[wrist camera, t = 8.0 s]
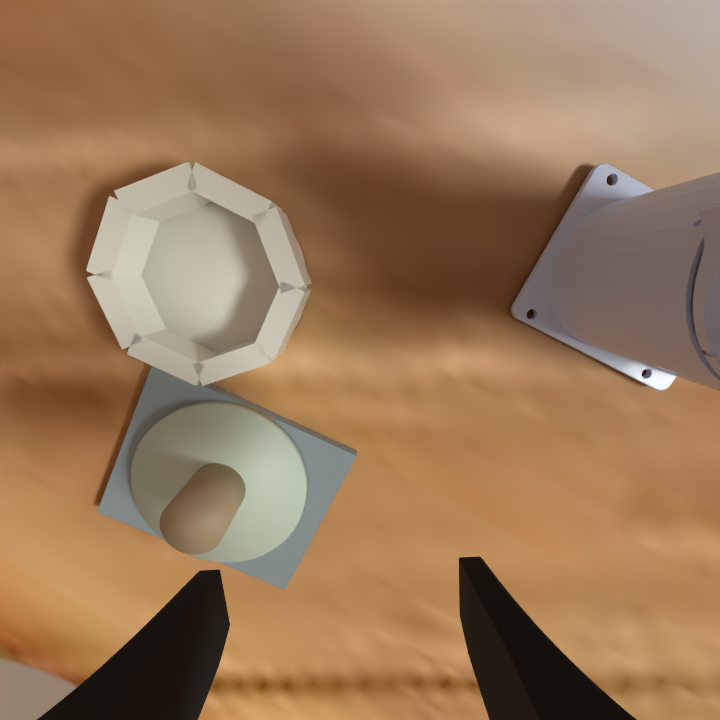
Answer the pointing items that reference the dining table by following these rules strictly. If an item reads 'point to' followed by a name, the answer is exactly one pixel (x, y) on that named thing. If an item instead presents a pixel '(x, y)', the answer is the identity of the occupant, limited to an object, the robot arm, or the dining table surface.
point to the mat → (319, 452)
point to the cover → (219, 481)
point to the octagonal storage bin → (198, 274)
